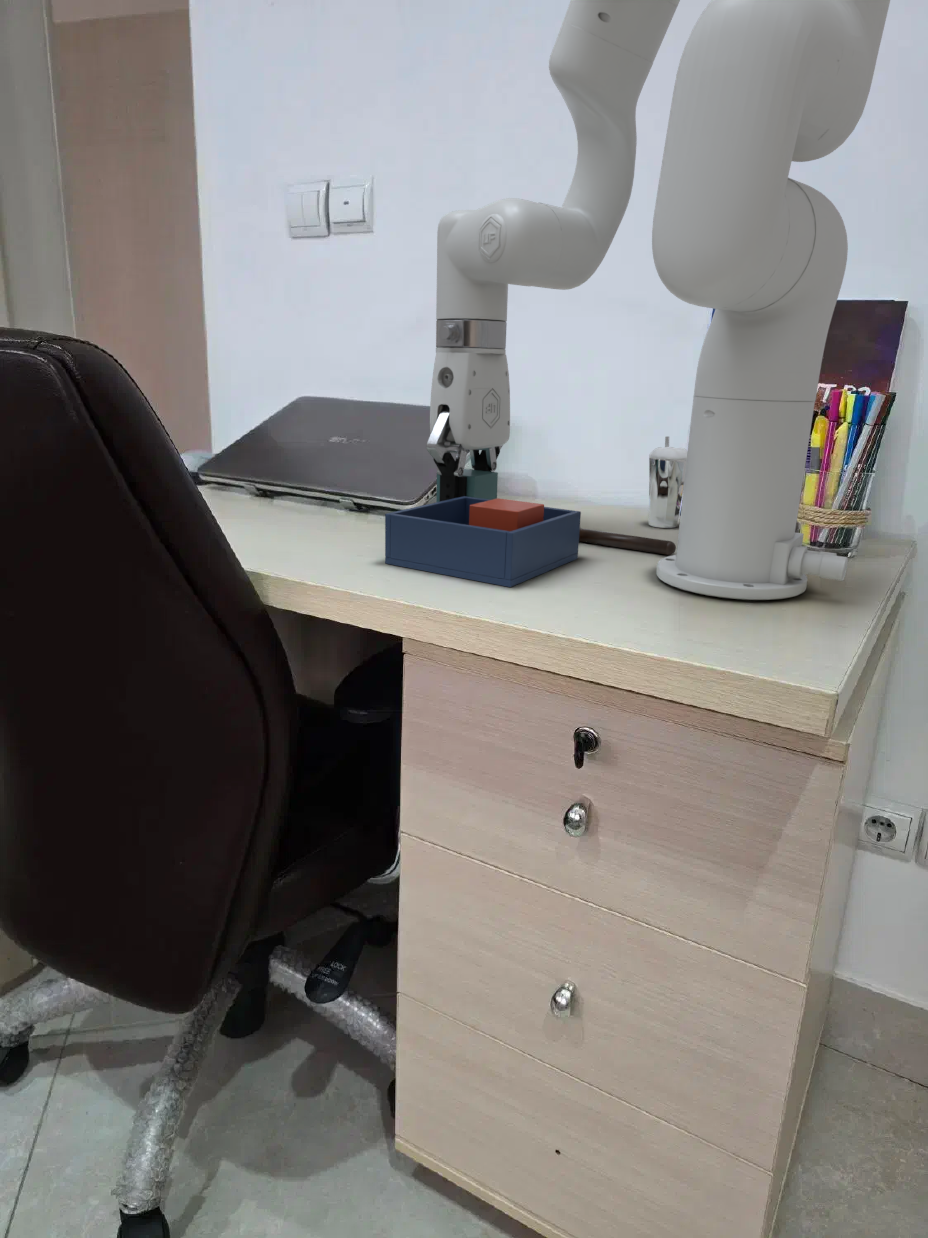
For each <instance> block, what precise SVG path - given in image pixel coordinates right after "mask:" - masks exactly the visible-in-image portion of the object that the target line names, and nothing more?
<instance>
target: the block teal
mask: <svg viewBox="0 0 928 1238" xmlns="http://www.w3.org/2000/svg"><path fill="white" fill-rule="evenodd" d="M469 469H470V468H469ZM469 469H467V468H464V473H463V476H464V477H467V494H466V497H474V498H482V499H489V500H493V499H497V498H498V482H499V481H498V479H499V478H498V477H499V473H498V472H497V471H492V472H488V471H478V470H474V469H473V470H469ZM436 502H440V475H438V474H437V473H436ZM436 502H435V503H436Z"/></svg>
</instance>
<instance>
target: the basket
mask: <svg viewBox="0 0 928 1238" xmlns="http://www.w3.org/2000/svg"><path fill="white" fill-rule="evenodd" d="M485 501H489V499H482V498H474V497H466V496H463V497H458V498H454V499H449V500H445V501H440V502H432V503H427V504H423V505H419V506H413V507H410V508H405V509H401V510H396V511H392V512H386V513H384V535H385V536H384V556H385V557H384V563H385V564H387V565H393V566H397V567H402V568H408V569H413V570H419V571H423V572H428V573H433V574H439V575H445V576H449V577H455V578H459V579H466V580H470V581H476V582H481V583H485V584H491V585H497V586H502V587H508V588H511V587H514V586H516V585H520V584H521V583H524V582H526V581H528V580H531V579H533V578H536V577H537V576H541V575H542V574H545V573H547V572H550V571H553V570H554V569H557V568H559V567H561V566H564V565H566V564H568V563H571V562H573V561H576V560H578V558H579V543H580V542H579V532H580V528H581V515H582V511H579V510H572V509H564V508H558V507H557V508H556V507H550V506H544V518H543V521H542V522H539V523H536V524H532V525H529V526H526V527H523V528H520V529H516V530H513V531H505V530H498V529H492V528H485V527H479V526H472V525H469V513H470V505H472V504H476V503H481V502H485Z"/></svg>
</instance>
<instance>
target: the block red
mask: <svg viewBox="0 0 928 1238" xmlns="http://www.w3.org/2000/svg"><path fill="white" fill-rule="evenodd" d="M544 507H545V504H543V503H539V502H538V503H536V502H529V501H523V500H514V499H507V498H499V497H497V499H493V500H489V501H485V502H481V503H476V504H472V505H470V513H469V525H472V526H479V527H485V528H492V529H498V530H505V531H513V530H516V529H520V528H523V527H526V526H529V525H532V524H536V523H539V522H542V521H543V518H544Z"/></svg>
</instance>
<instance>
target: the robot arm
mask: <svg viewBox="0 0 928 1238" xmlns="http://www.w3.org/2000/svg"><path fill="white" fill-rule="evenodd" d="M680 2H681V0H570V2H569V4H568V7H567V10H566V12H565V15H564V17H563V21H562V24H561V27H560V29H559V32H558V34H557V37H556V40H555V42H554V44H553V47H552V50H551V53H550V56H549V60H548V70H549V75H550V78H551V80H552V82H553V83H554V85H555V87H556V88H557V90H558V92H559V94H560V95H561V97H562V99H563V101H564V102H565V105H566V107H567V109H568V111H569V113H570V116H571V118H572V121H573V125H574V128H575V133H576V139H577V140H576V141H577V157H576V164H575V168H574V173H573V176H572V180H571V182H570V186H569V188H568V190H567V193H566V195H565V198H564V201H563V203H562V205H561V206H557V205H552V204H548V203H544V202H537V201H534V200H533V201H532V200H528V199H523V198H517V197H508V198H507V197H506V198H501V199H498V200H495V201H493V202H490V203H488V204H486V205H484V206H481V207H479V208H477V209H459V210H452V211H449V212H447V213H445V214H443V216H442V217H441V218H440V219H439V222H438V225H437V232H436V233H437V236H436V241H437V243H436V303H435V304H436V305H435V306H436V307H435V308H436V309H435V310H436V312H435V357H434V364H433V372H432V379H431V391H430V406H429V436H428V439H427V441H426V443H425V449H426V451H427V452H428V454H429V455H430V457H431V458H432V460H433V462H434V464H435V466H436V475H437V474H438V475H440V501H445V500H449V499H454V498H458V497H463V496H466V494H467V477H464V476H463V473H464V469H465V468H466V467H465V466H466V461H467V455H468V450H469V456H470V464H471V469H470V468H469V470H478V471H488V472H496V470H497V468H498V462H497V459H498V457H499V455H500V453H501V449H502V448H503V446H504V445H506V443H507V442H508V441H509V440H510V436H511V435H510V434H511V387H510V373H509V363H508V357H507V354H506V353H507V352H506V351H507V326H508V325H507V324H508V323H507V321H508V302H509V301H508V300H509V299H508V298H509V285H513V286H520V287H534V288H541V289H551V290H562V291H566V290H568V291H569V290H572V289H575V288H577V287H580V286H581V285H583V284H585V283H586V282H587V281H588V280H589V279H590V278H591V277H592V276H593V275H594V274H595V273H596V271H597V270H598V268H599V267H600V265H601V264H602V262H603V260H604V259H605V257H606V254H607V253H608V251H609V248H610V247H611V244H612V243H613V240H614V238H615V237H616V234H617V231H618V230H619V228H620V225H621V223H622V221H623V218H624V216H625V215H626V211H627V208H628V205H629V202H630V200H631V196H632V192H633V186H634V178H635V170H636V169H635V167H636V158H637V143H638V141H637V140H638V139H637V138H638V137H637V136H638V135H637V121H636V120H637V119H636V118H637V116H636V115H637V113H636V112H637V106H638V105H637V104H638V101H639V98H640V95H641V93H642V90H643V88H644V85H645V83H646V81H647V79H648V76H649V74H650V72H651V69H652V67H653V65H654V62H655V60H656V57H657V55H658V53H659V50H660V48H661V46H662V44H663V41H664V38H665V36H666V35H667V32H668V29H669V27H670V24H671V22H672V20H673V18H674V15H675V14H676V11H677V8H678V6H679V4H680ZM890 4H891V0H711V1H710V2H709V3H708V4H707V6H705V8H704V10H703V11H702V12H701V14H700V15H699V17H698V19H697V21H696V22H695V24H694V26H693V28H692V30H691V32H690V34H689V36H688V38H687V40H686V42H685V45H684V48H683V50H682V53H681V56H680V60H679V62H678V66H677V71H676V75H675V82H674V85H673V86H674V87H673V92H672V98H671V104H670V110H669V117H668V122H667V129H666V135H665V140H664V141H665V142H664V147H663V154H662V160H661V167H660V173H659V178H658V179H659V180H658V186H657V191H656V199H655V205H654V211H653V212H654V213H653V218H652V219H653V220H652V227H651V228H652V231H651V249H652V258H653V263H654V266H655V267H654V268H655V270H656V273H657V275H658V277H659V279H660V281H661V283H662V284H663V285H664V286H665V288H666V289H667V290H668V292H670V293H671V295H673V296H675V298H677V299H679V300H681V301H682V302H685V303H687V304H689V305H692V306H696V307H702V308H707V309H708V308H709V309H713V310H714V313H713V315H712V318H711V321H710V324H709V326H708V328H707V331H706V334H705V337H704V340H703V343H702V347H701V350H700V354H699V357H698V361H697V362H698V363H697V367H696V372H695V373H696V374H695V381H694V391H693V396H692V405H691V406H692V407H691V416H690V425H689V433H688V442H687V443H688V444H687V451H688V452H687V461H686V470H685V479H684V488H683V494H682V500H681V506H680V515H679V527H678V536H677V544H676V552H675V554H671V555H667V556H665V557H663V558H661V559H659V560H658V562H657V563H656V574H655V575H656V576H657V577H658V579H659V580H660V581H662V582H663V583H665V584H667V585H669V586H671V587H674V588H677V589H680V590H682V591H686V592H690V593H695V594H699V595H705V596H710V597H717V598H722V599H735V600H748V601H749V600H750V601H770V600H783V599H789V598H793V597H797V596H799V595H801V594H804V593H805V592H806V590H807V587H808V576H807V575H811V576H817V577H819V578H820V579H821V578H822V579H828V580H835V581H841V582H843V581H845V578H846V574H847V569H848V564H849V558H848V556H841V555H838V554H837V552H829V551H824V550H823V551H822V550H820V551H817V550H810V549H809V548H808V546H804V545H803V540H804V533H802V532H796V528H797V521H798V515H799V509H800V503H801V495H802V489H803V481H804V476H805V470H806V462H807V456H808V449H809V442H810V436H811V429H812V423H813V418H814V417H813V416H814V410H815V404H816V400H817V393H818V387H819V380H820V374H821V368H822V364H823V363H822V362H823V358H824V351H825V348H826V343H827V339H828V334H829V330H830V325H831V322H832V319H833V315H834V312H835V307H836V305H837V301H838V300H839V299H838V298H839V294H840V292H841V288H842V284H843V281H844V277H845V272H846V268H847V261H848V252H849V251H848V250H849V242H848V234H847V229H846V226H845V223H844V222H845V221H844V220H843V217H842V215H841V213H840V212H839V210H838V209H837V207H836V205H834V203H833V202H832V200H830V199H829V198H828V196H826V195H825V194H824V193H822V192H821V191H819V190H818V189H816V188H814V187H812V186H810V185H808V184H806V183H804V182H801V181H799V180H795V179H793V178H790V177H789V174H790V170H791V166H792V162H795V163H805V162H811V161H815V160H820V159H822V158H825V157H827V156H829V155H830V154H832V153H834V151H836V150H837V149H838V148H840V147H841V146H842V145H843V144H844V143H845V142H846V141H847V140H848V138H849V137H850V136H851V135H852V134H853V132H854V130H855V129H856V127H857V125H858V123H859V121H860V120H861V118H862V116H863V115H864V114H863V113H864V110H865V108H866V104H867V101H868V98H869V94H870V91H871V87H872V83H873V79H874V75H875V69H876V65H877V59H878V55H879V51H880V46H881V42H882V38H883V33H884V28H885V24H886V21H887V17H888V12H889V8H890ZM452 454H456V455H455V456H456V457H455V458H454V456H453V455H452Z"/></svg>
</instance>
